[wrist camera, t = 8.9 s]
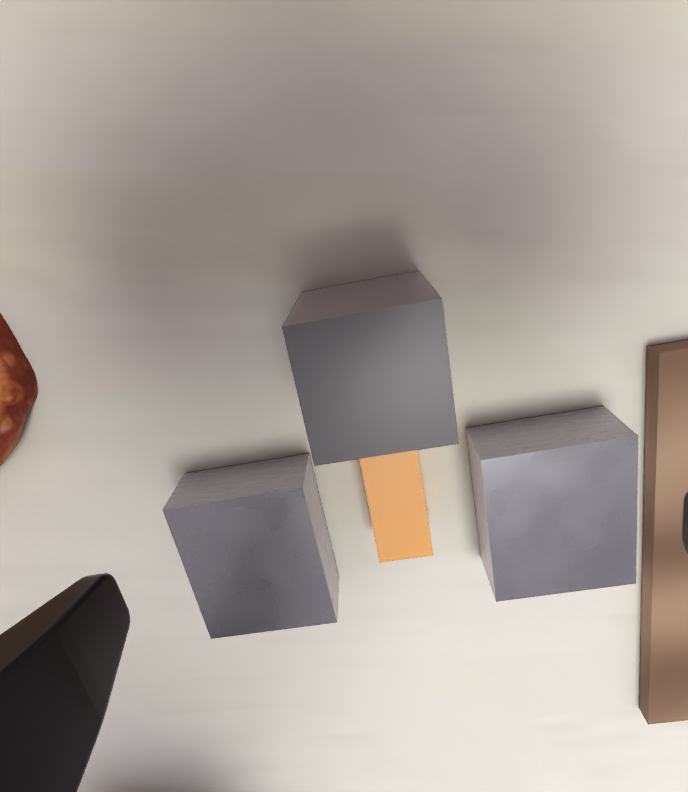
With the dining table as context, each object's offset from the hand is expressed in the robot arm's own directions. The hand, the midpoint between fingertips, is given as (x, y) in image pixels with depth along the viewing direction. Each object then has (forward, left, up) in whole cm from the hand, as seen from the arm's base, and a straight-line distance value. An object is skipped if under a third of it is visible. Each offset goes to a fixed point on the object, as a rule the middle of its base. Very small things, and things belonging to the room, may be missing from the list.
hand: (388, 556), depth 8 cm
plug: (-2, 0, -11) cm, 11 cm away
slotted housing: (-6, 0, -11) cm, 13 cm away
